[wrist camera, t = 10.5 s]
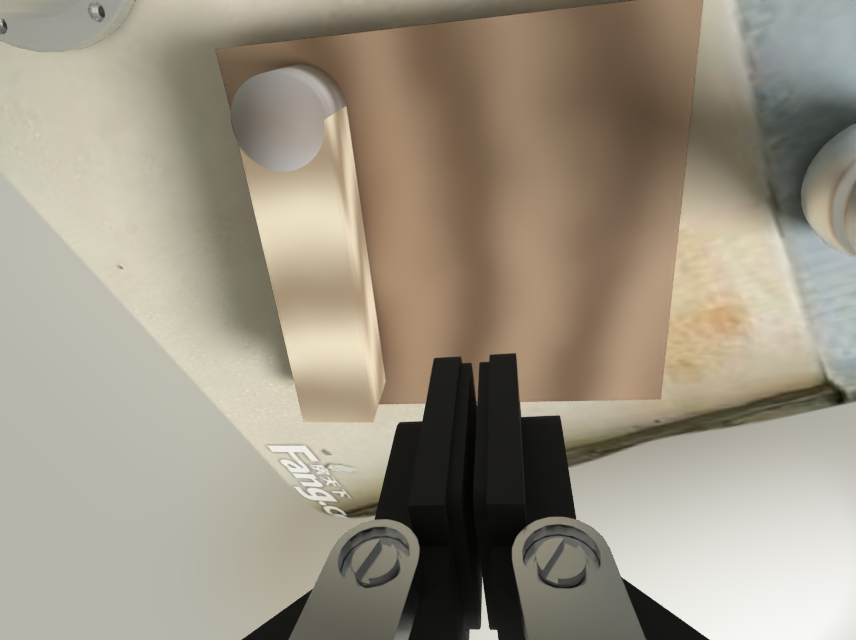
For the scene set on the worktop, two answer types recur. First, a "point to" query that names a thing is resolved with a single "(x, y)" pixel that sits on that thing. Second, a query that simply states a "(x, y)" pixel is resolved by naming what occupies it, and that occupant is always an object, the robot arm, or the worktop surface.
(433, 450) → the robot arm
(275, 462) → the worktop surface
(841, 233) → the plastic bottle
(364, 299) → the folding leg
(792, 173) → the worktop surface
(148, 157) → the worktop surface
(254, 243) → the worktop surface
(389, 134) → the stool seat
